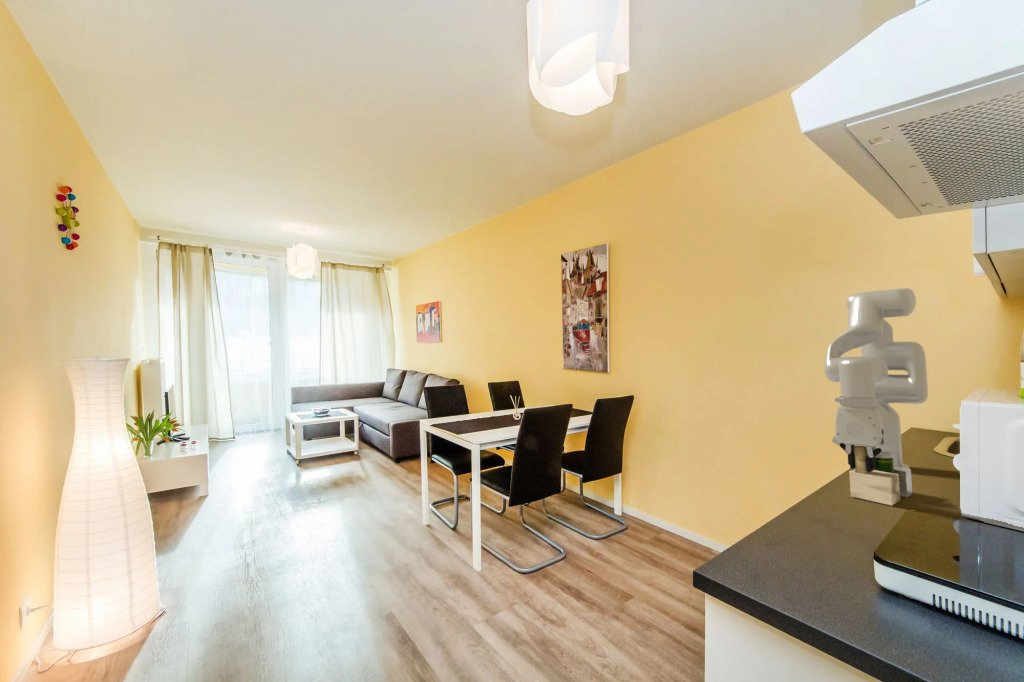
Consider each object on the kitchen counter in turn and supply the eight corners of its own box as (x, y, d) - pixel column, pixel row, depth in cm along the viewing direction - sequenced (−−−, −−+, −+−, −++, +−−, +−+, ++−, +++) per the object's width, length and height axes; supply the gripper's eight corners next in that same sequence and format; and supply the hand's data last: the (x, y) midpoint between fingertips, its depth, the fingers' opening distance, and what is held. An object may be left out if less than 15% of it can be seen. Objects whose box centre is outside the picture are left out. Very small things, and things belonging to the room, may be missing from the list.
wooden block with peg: (859, 491, 122) (856, 442, 122) (900, 500, 114) (896, 448, 115) (850, 496, 119) (847, 446, 119) (892, 505, 111) (888, 451, 112)
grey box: (872, 486, 127) (870, 462, 127) (912, 493, 120) (910, 468, 120) (867, 488, 125) (865, 464, 125) (907, 497, 117) (905, 471, 118)
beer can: (897, 494, 119) (894, 451, 120) (893, 499, 116) (890, 455, 116) (872, 490, 124) (869, 449, 124) (868, 495, 120) (865, 452, 120)
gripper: (818, 402, 123) (822, 465, 123) (890, 407, 109) (895, 479, 109) (829, 399, 127) (833, 461, 127) (901, 404, 113) (905, 473, 113)
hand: (862, 468), depth 118 cm, fingers closed on wooden block with peg, 3 cm apart
